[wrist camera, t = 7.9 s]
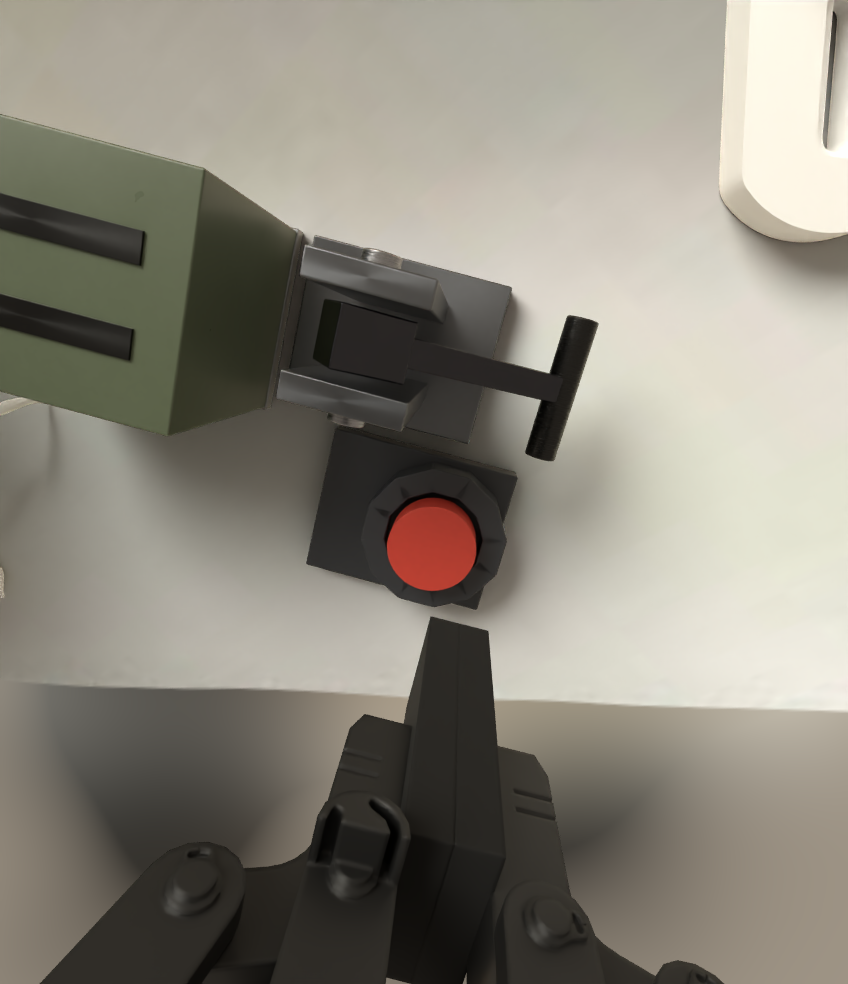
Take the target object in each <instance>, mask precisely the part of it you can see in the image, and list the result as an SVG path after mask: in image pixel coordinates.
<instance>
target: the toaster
mask: <svg viewBox="0 0 848 984" xmlns="http://www.w3.org/2000/svg"><path fill="white" fill-rule="evenodd" d="M302 236H303V232H301V231H300V230H299V229H296V228H292V227H289V226H288V225H286V224H285V223H284V222H282V221H281V220H279V219H278V218H276V217H275V216H273V215H272V214H270V213H269V212H267V211H266V210H264V209H263V208H262V207H260V206H259V205H257V204H256V203H254V202H253V201H251V200H250V199H248V198H247V197H245V196H244V195H243V194H241V193H240V192H238V191H237V190H235V189H234V188H232V187H231V186H229V185H228V184H226V183H225V182H223V181H222V180H221V179H219V178H218V177H216V176H215V175H213V174H212V173H210V172H209V171H207V170H206V169H204V168H201V167H198V166H194V165H190V164H186V163H183V162H179V161H175V160H171V159H168V158H164V157H160V156H156V155H153V154H149V153H145V152H141V151H137V150H134V149H130V148H126V147H122V146H119V145H115V144H111V143H107V142H104V141H100V140H96V139H92V138H89V137H85V136H81V135H77V134H73V133H70V132H66V131H62V130H58V129H55V128H51V127H47V126H43V125H40V124H36V123H32V122H28V121H25V120H21V119H17V118H13V117H9V116H6V115H2V114H0V392H4V393H8V394H11V395H15V396H19V397H22V398H26V399H30V400H34V401H37V402H41V403H45V404H49V405H52V406H56V407H60V408H64V409H67V410H71V411H75V412H78V413H82V414H86V415H90V416H93V417H97V418H101V419H105V420H108V421H112V422H116V423H119V424H123V425H127V426H131V427H134V428H138V429H142V430H146V431H149V432H153V433H157V434H161V435H164V436H170V435H174V434H177V433H180V432H184V431H187V430H190V429H194V428H197V427H200V426H204V425H207V424H210V423H214V422H217V421H220V420H224V419H227V418H230V417H234V416H237V415H240V414H244V413H247V412H250V411H254V410H257V409H260V408H261V409H265V410H266V409H270V408H271V404H272V399H273V393H274V388H275V383H276V377H277V372H278V366H279V361H280V355H281V350H282V345H283V339H284V334H285V328H286V323H287V317H288V312H289V307H290V301H291V296H292V290H293V285H294V280H295V274H296V269H297V263H298V258H299V252H300V247H301V242H302Z"/></svg>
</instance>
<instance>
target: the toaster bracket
mask: <svg viewBox="0 0 848 984" xmlns="http://www.w3.org/2000/svg"><path fill="white" fill-rule="evenodd" d="M299 276H300V277H302V278H305V279H306V283H305V288H304V294H303V299H302V304H301V309H300V315H299V320H298V325H297V331H296V336H295V341H294V346H293V352H292V357H291V362H290V367H289V369H284V370H281V371H280V376H279V382H278V387H277V392H276V399H279V400H283V401H286V402H290V403H294V404H297V405H301V406H305V407H309V408H312V409H316V410H320V411H324V412H327V413H328V416H327V418H328V420H330V421H331V422H334V423H336V424H339V425H343V426H347V427H352V428H363V427H364V426H365V423H369V424H372V425H376V426H380V427H384V428H387V429H391V430H395V431H398V432H401V431H402V430H403V428H404V427H406V428H410V429H414V430H418V431H421V432H425V433H429V434H433V435H436V436H440V437H444V438H448V439H451V440H455V441H459V442H463V443H466V444H468V443H469V440H470V436H471V433H472V429H473V426H474V422H475V419H476V415H477V411H478V408H479V404H480V401H481V397H482V394H483V390H484V386H479V385H475V384H471V383H466V382H462V381H458V380H454V379H449V378H445V377H441V376H436V375H432V374H428V373H424V372H419V371H415V370H411V369H407V372H406V376H405V380H404V384H403V385H399V384H395V383H390V382H386V381H381V380H376V379H372V378H367V377H363V376H358V375H354V374H349V373H344V372H340V371H335V370H331V369H328V368H327V367H325V366H323V365H322V364H320V363H319V362H317V361H315V360H314V359H313V353H314V348H315V343H316V338H317V333H318V328H319V323H320V318H321V313H322V308H323V303H324V299H332V300H337V301H342V302H346V303H349V304H353V305H357V306H360V307H364V308H368V309H371V310H375V311H378V312H382V313H386V314H389V315H393V316H396V317H400V318H404V319H407V320H411V321H414V322H417V323H418V327H417V331H416V335H415V338H416V339H419V340H423V341H427V342H431V343H435V344H439V345H442V346H446V347H450V348H454V349H458V350H461V351H465V352H469V353H473V354H477V355H481V356H484V357H488V358H493V355H494V351H495V347H496V344H497V340H498V337H499V333H500V330H501V326H502V323H503V319H504V315H505V312H506V308H507V305H508V301H509V298H510V294H511V291H512V288H511V287H509V286H505V285H501V284H498V283H494V282H490V281H486V280H483V279H479V278H475V277H471V276H468V275H464V274H460V273H456V272H453V271H449V270H445V269H441V268H437V267H434V266H430V265H426V264H422V263H419V262H415V261H411V260H407V259H404V258H400V257H398V256H396V255H393V254H391V253H387V252H384V251H381V250H377V249H372V248H362V247H358V246H355V245H351V244H347V243H343V242H340V241H336V240H332V239H328V238H325V237H321V236H317V235H315V236H314V241H313V246H312V245H308V244H306V245H305V246H304V249H303V254H302V260H301V265H300V270H299Z"/></svg>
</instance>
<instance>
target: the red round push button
mask: <svg viewBox="0 0 848 984" xmlns="http://www.w3.org/2000/svg"><path fill="white" fill-rule="evenodd" d="M387 553H388V558H389V561H390V564H391V566H392V568H393V570H394V571H395V572H396V574H397V575H398V576H399V577H400V578H401V579H402V580H403V581H405V582H406V583H408V584H409V585H411V586H413V587H415V588H418V589H422V590H427V591H438V590H444V589H447V588H450V587H452V586H454V585H456V584H458V583H459V582H460V581H462V580H463V579H464V578H465V577H466V576H467V575H468V573H469V572H470V570H471V568H472V567H473V564H474V562H475V557H476V534H475V529H474V526H473V523H472V521H471V519H470V518H469V516H468V515H467V513H466V512H465V511H464V510H463V509H462V508H461V507H459V506H458V505H456V504H455V503H453V502H451V501H448V500H445V499H441V498H424V499H420V500H417V501H415V502H413V503H411V504H409V505H408V506H406V507H405V508H404V509H403V510H402V511H401V512H400V513H399V515H398V516H397V518H396V520H395V522H394V524H393V526H392V529H391V531H390V534H389V537H388V542H387Z"/></svg>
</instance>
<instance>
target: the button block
mask: <svg viewBox="0 0 848 984" xmlns="http://www.w3.org/2000/svg"><path fill="white" fill-rule="evenodd" d="M516 482H517V475H516V473H515V472H512V471H509V470H505V469H501V468H497V467H494V466H490V465H486V464H482V463H479V462H475V461H471V460H467V459H464V458H460V457H456V456H452V455H449V454H445V453H441V452H437V451H434V450H430V449H426V448H423V447H419V446H415V445H411V444H408V443H404V442H400V441H396V440H393V439H389V438H385V437H381V436H378V435H374V434H370V433H366V432H363V431H359V430H355V429H351V428H348V427H344V426H339V427H338V428H336V429H335V433H334V437H333V442H332V446H331V451H330V456H329V460H328V465H327V470H326V474H325V479H324V483H323V488H322V493H321V497H320V502H319V506H318V511H317V516H316V520H315V525H314V530H313V534H312V539H311V543H310V548H309V553H308V557H307V562H306V564H308V565H311V566H315V567H319V568H323V569H326V570H330V571H334V572H337V573H341V574H345V575H349V576H352V577H356V578H360V579H363V580H367V581H371V582H375V583H378V584H382V585H385V586H386V587H387V588H388V589H389V590H390V591H392V592H393V593H394V594H395V595H396V596H397V597H399V598H401V599H405V600H409V601H412V602H416V603H420V604H424V605H427V606H431V607H437V606H441V605H445V604H450V603H453V604H456V605H460V606H464V607H468V608H471V609H475V610H476V609H477V608H478V604H479V601H480V598H481V595H482V591H483V588H484V585H486V584H487V583H488V582H489V581H490V580H491V579H492V578H493V577H495V575H496V574H497V571H498V568H499V564H500V561H501V558H502V555H503V552H504V549H505V545H506V542H507V541H506V535H505V530H504V526H503V524H504V520H505V517H506V514H507V511H508V508H509V504H510V501H511V498H512V495H513V491H514V488H515V485H516ZM424 498H441V499H445V500H448V501H451V502H453V503H455V504H456V505H458V506H459V507H461V508H462V509H463V510H464V511H465V512H466V513H467V515H468V516H469V518H470V519H471V521H472V523H473V526H474V529H475V534H476V557H475V562H474V564H473V567H472V568H471V570H470V572H469V573H468V575H467V576H466V577H465V578H464V579H463V580H462V581H460V582H459V583H458V584H456V585H454V586H452V587H450V588H447V589H444V590H438V591H427V590H422V589H418V588H415V587H413V586H411V585H409V584H408V583H406V582H405V581H403V580H402V579H401V578H400V577H399V576H398V575H397V574H396V572H395V571H394V570H393V568H392V566H391V564H390V561H389V558H388V553H387V542H388V537H389V534H390V531H391V529H392V526H393V524H394V522H395V520H396V518H397V516H398V515H399V513H400V512H401V511H402V510H403V509H404V508H405V507H406V506H408V505H409V504H411V503H413V502H415V501H417V500H420V499H424Z"/></svg>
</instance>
